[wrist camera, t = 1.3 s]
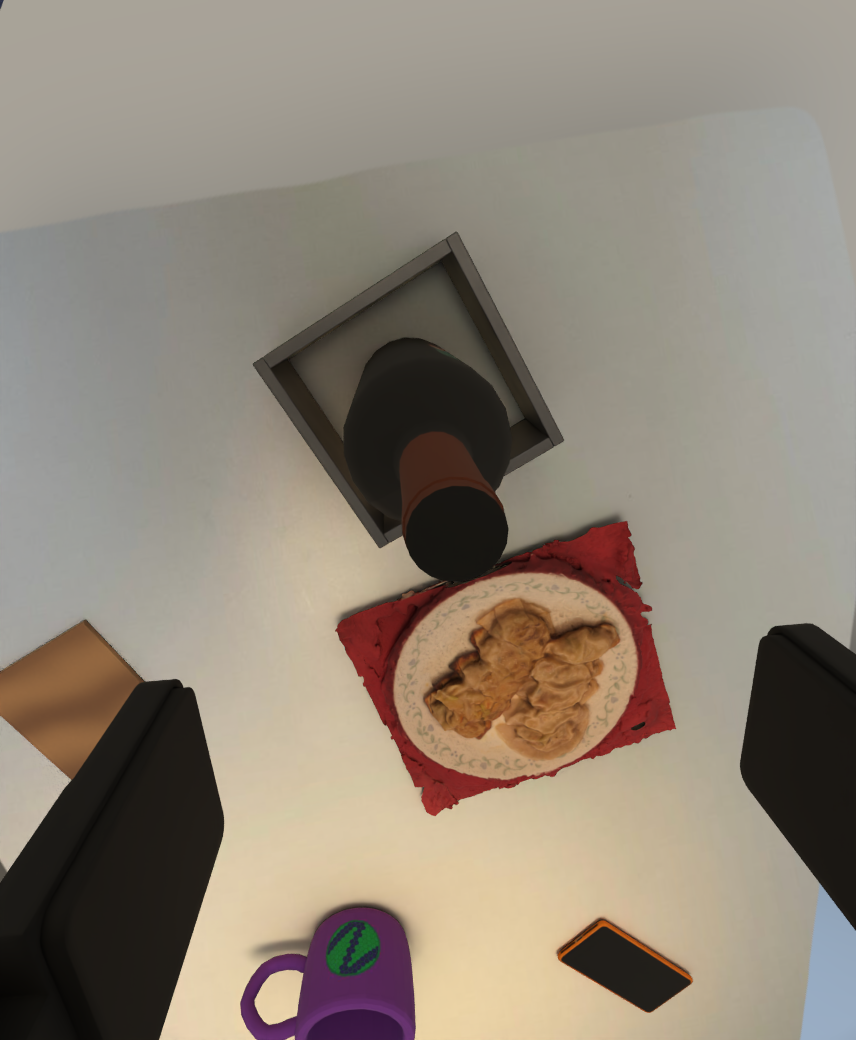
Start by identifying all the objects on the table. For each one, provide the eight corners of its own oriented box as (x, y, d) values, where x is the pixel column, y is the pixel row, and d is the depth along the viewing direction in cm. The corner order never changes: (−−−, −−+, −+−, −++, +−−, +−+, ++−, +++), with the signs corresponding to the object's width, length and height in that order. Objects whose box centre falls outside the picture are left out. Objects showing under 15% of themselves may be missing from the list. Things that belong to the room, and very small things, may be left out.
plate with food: (334, 613, 50) (330, 635, 46) (621, 514, 48) (638, 529, 44) (427, 803, 58) (429, 833, 55) (674, 726, 56) (691, 753, 53)
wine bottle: (369, 327, 42) (336, 360, 13) (470, 349, 43) (635, 422, 14) (352, 429, 44) (294, 637, 16) (448, 447, 45) (552, 674, 17)
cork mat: (-25, 686, 49) (-29, 689, 49) (85, 619, 48) (82, 622, 47) (74, 776, 53) (72, 780, 53) (179, 717, 52) (177, 721, 51)
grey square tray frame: (272, 355, 42) (251, 363, 35) (445, 243, 40) (457, 230, 34) (380, 515, 47) (379, 549, 40) (538, 421, 45) (564, 440, 38)
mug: (407, 892, 61) (411, 997, 52) (414, 963, 65) (419, 1072, 56) (243, 909, 61) (217, 1019, 51) (260, 980, 65) (239, 1094, 55)
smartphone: (601, 916, 65) (604, 923, 64) (692, 974, 69) (695, 981, 68) (553, 953, 66) (555, 961, 65) (645, 1007, 71) (648, 1016, 70)
